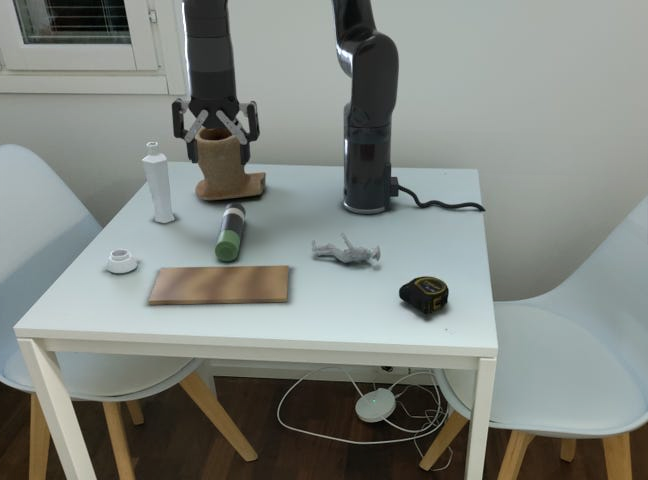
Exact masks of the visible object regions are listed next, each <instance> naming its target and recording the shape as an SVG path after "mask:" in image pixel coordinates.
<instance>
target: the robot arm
mask: <svg viewBox="0 0 648 480" xmlns="http://www.w3.org/2000/svg"><path fill="white" fill-rule="evenodd" d="M330 1H331V7H332V8H331V9H332V16H333V27H334V28H333V29H334V41H335V49H336V50H335V52H336V57H337V62H338V65H339V67H340V69H341V70H342V71H343V73H344V74H345V75H346V76H347V77H349V78H350V79H351V86H350V87H351V88H350V89H351V90H350V91H351V92H350V100H349V102H347V103H345V105H344V106H343V187H342V188H343V190H342V191H343V192H342V193H343V207H344V209H346V210H347V211H349V212H352V213H355V214H360V215H375V214H378V213H383V212H386V211H391V198H399V196H400V191H401V192H403V193H405V194H408V195H409V196H411V198H412V199H413V201H414V203H415V205H416V206H417V207H418V208H423V209H424V208H427V207H429V206H433V205H434V206H439V207H442V208H444V209H447V210H448V209H449V210H456V209H457V210H458V209H463V208H474V209H475V208H476V209H477V210H479V211H480V212H486V208H485V207H484V206H483V205H482V204H479V203H477V202H473V201H469V202H461V203H454V204H449V203H446V202H443V201H441V200H435V199H432V200H431V199H430V200H429V201H426V202H421V201H420V199H419V198H418V195H417V194H416V193H415V192H414V191H413V190H411V189H409V188H407V187H405V186H403V185H400V183H399V179H398V176H392V162H391V156H392V155H391V154H392V153H391V151H392V123H393V113H394V110H395V108H396V105H397V101H398V100H397V99H398V87H399V74H400V55H399V50H398V47H397V45H396V42H395V41H394V40H393V39H392V38H391V37H390V36H389V35H387V34H385V33H383V32H381V31H378V29H377V25H376V22H375V17H374V11H373V7H372V0H330ZM181 2H182V3H181V5H182V7H181V9H182V10H181V11H182V20H183V28H184V40H185V41H184V51H185V58H184V59H185V64H186V70H187V79H188V80H187V81H188V88H189V96H190V98H189V100H183V99H181V98H180V97H177V98H176V99H175V100H174V101H172V103H171V116H172V130H173V136H174V138H175V139H181V140H183V141H184V142H185V144H186V145H185V146H186V152H187V153H186V154H187V158H188V160H189V161H191V164H197V165H198V163H197V162H198V161H199V155H198V146H197V139H195V135H196V134H197V132H198V131H199V129H200V128H201V127H202V126H203V127H205V128H206V129H214V128H216V129H219V130H225V129H226V128H228V129H229V131H230V132H231V133H232V134H233V135H235V136H236V138H237V139H238V140H239V141H240V159H241V165H245V166H246V165H247V163H249V161H250V160H251V144H250V143H252V142H257V140H258V139H259V137H260V136H261V130H260V122H259V113H258V105H257V104H258V103H257V102H256V101H255V100H251V101H250V102H241V103H240V101H239V100H238V94H237V82H236V81H237V80H236V69H235V67H236V66H235V54H234V45H233V41H232V35H231V22H230V11H229V0H182V1H181ZM187 110H189V112H190V113H191V114H192V115H193V116H194V118H195V120H194V121H193V123H192V125H191V126H190V128H189V129H188V130H187V129H185V118H184V116H185V114H186V113H187ZM240 112H242V114H243V116H244V117H245V118H247V120H248V129H249V132H248V131H247V129H245V128H244V126H243V124H242V122H241V121H240V120H239V118H238V117H237V116H238V114H239V113H240Z"/></svg>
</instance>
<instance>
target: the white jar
mask: <svg viewBox="0 0 648 480" xmlns="http://www.w3.org/2000/svg"><path fill="white" fill-rule="evenodd" d="M109 255H110V256H109V258H108V261H107V264H106V269H107V271H109V272H110V273H114V274H127V273H129V272H131V271H133V270H135V269H136V268H137V267H138V261H137V259H136V258H135V257H134V256H133V255H132V253H130V251H129V249H125V248H117V249H114V250H113V251H111V252H110V254H109Z"/></svg>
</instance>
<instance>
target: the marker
mask: <svg viewBox="0 0 648 480" xmlns="http://www.w3.org/2000/svg"><path fill="white" fill-rule="evenodd" d="M246 212H247V211H246V208H245V207H244V205H242V204H241V203H239V202H230V203H228V204H227V205H226V206H225V209H224V213H223V216H222V220H221V224H220V228H219V231H218V236H217V238H216V239H217V240H216V243H215V247H214V253H215V256H216V257H217V258H218V259H219V260H220V261H223V262H232V261H234V260H235V259H236V258H237V257H238V254H239V250H240V245H241V241H242V235H243V230H244V225H245V219H246Z"/></svg>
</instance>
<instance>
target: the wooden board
mask: <svg viewBox="0 0 648 480" xmlns="http://www.w3.org/2000/svg"><path fill="white" fill-rule="evenodd" d="M289 273H290V266H289V265H248V266H247V265H240V266H238V265H234V266H187V267H185V266H184V267H183V266H182V267H179V266H178V267H161V268H160V269H159V273H158V274H157V278H156V280H155V283H154V286H153V288H152V291H151V293H150V296H149V299H148V304H149V305H150V306H154V305H155V306H156V305H158V306H159V305H161V306H163V305H203V304H204V305H205V304H206V305H207V304H208V305H209V304H255V303H256V304H258V303H287V301H288V300H287V299H288V287H289Z"/></svg>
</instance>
